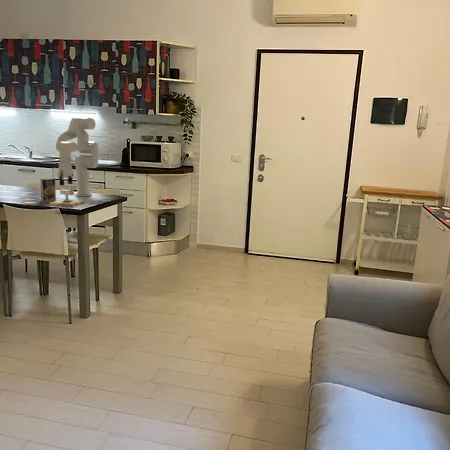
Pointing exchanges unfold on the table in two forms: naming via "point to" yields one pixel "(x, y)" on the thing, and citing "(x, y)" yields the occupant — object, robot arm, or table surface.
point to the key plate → (66, 203)
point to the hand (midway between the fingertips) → (66, 184)
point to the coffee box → (48, 190)
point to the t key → (67, 193)
